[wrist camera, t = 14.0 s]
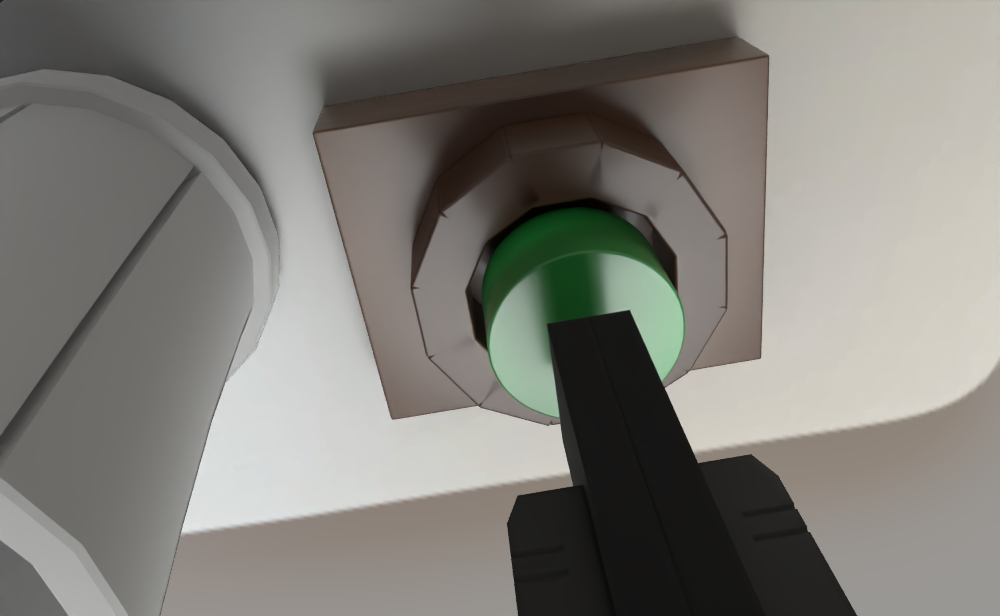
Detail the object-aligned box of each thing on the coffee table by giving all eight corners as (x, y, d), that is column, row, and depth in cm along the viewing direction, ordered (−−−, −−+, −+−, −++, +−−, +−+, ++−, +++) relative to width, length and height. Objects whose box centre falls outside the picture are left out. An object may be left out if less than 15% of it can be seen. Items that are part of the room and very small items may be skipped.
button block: (738, 35, 19) (809, 77, 15) (736, 320, 23) (791, 405, 19) (322, 106, 19) (298, 163, 15) (394, 377, 23) (387, 471, 19)
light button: (655, 191, 17) (683, 234, 15) (662, 348, 19) (688, 403, 17) (467, 223, 17) (472, 270, 15) (495, 376, 19) (502, 434, 17)
